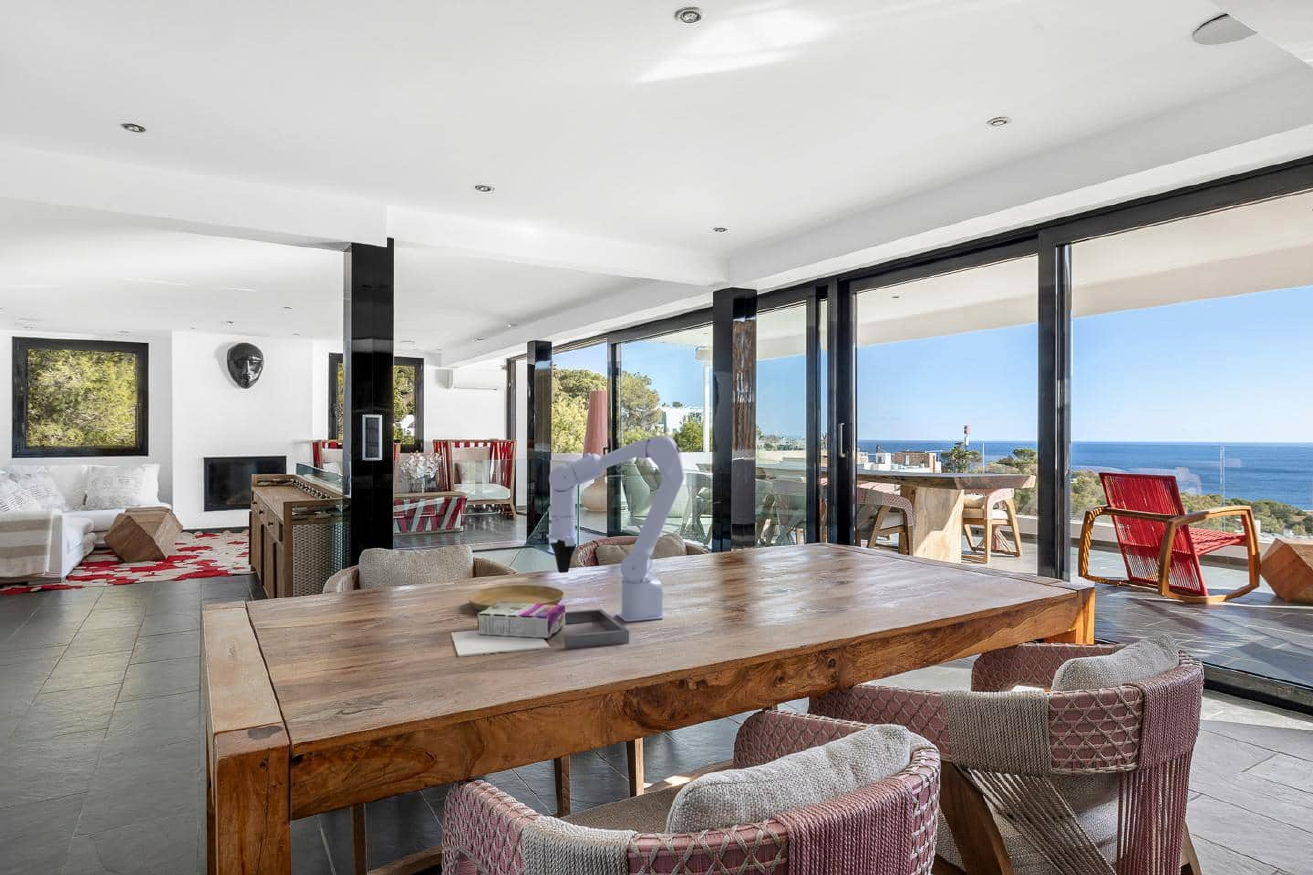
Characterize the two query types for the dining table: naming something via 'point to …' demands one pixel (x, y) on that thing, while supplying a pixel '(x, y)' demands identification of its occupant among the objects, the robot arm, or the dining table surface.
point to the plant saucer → (515, 595)
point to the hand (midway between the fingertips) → (563, 572)
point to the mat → (493, 643)
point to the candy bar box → (521, 620)
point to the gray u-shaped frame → (613, 636)
